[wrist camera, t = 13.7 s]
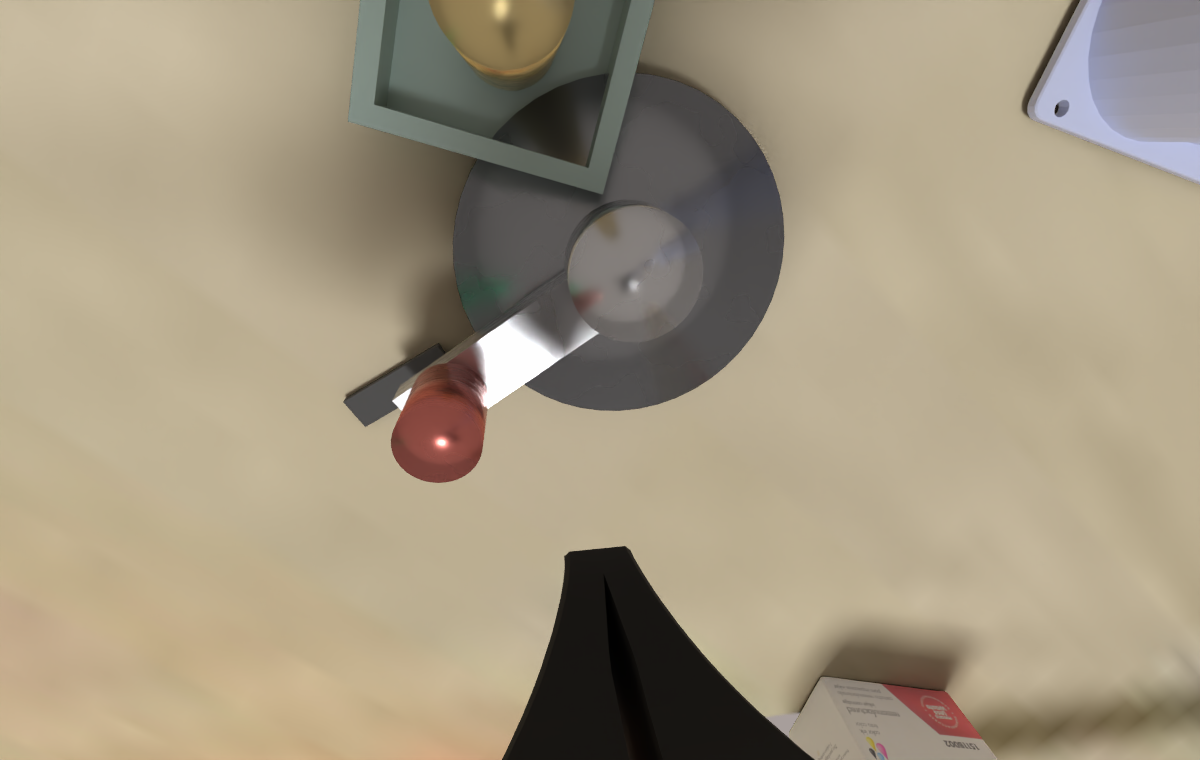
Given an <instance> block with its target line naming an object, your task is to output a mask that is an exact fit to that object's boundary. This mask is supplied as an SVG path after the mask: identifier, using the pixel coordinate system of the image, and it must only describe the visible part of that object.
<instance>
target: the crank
mask: <svg viewBox="0 0 1200 760" xmlns="http://www.w3.org/2000/svg"><path fill="white" fill-rule="evenodd" d="M702 282H703V260H702V255H701V252H700V249H699V246H698V244H697V242H696V240H695V238H694V236H693V235H692V233H691V232H690V230H689V229H688V228H687V227H686V226H685V225H684V224H683V223H682V222H681V221H679V220H678V219H677V218H675V217H674V216H672V215H670V214H669V213H667V212H665V211H663V210H661V209H659V208H657V207H655V206H653V205H651V204H649V203H646V202H642V201H638V200H617V201H612V202H609V203H606V204H604V205H601V206H599V207H597V208H596V209H594V210H592V211H591V212H590V213H589V214H587V215H586V216H585V217H584V218H583V219H582V220H581V221H580V222H579V223H578V225H577V226H576V228H575V229H574V231H573V232H572V234H571V236H570V238H569V241H568V244H567V247H566V251H565V258H564V271H562V272H561V273H559V274H558V275H557V276H555V277H554V278H552V279H551V280H549V281H548V282H547V283H545V284H544V285H542V286H541V287H539V288H538V289H537V290H535V291H534V292H532V293H531V294H530V295H528V296H527V297H525V298H524V299H522V300H521V301H520V302H518V303H517V304H515V305H514V306H512V307H511V308H510V309H508V310H507V311H505V312H504V313H502V314H501V315H500V316H498V317H497V318H495V319H494V320H492V321H491V322H490V323H488V324H487V325H485V326H484V327H482V328H481V329H480V330H478V331H477V332H475V333H474V334H472V335H471V336H470V337H468V338H467V339H465V340H464V341H463V342H461V343H460V344H458V345H457V346H455V347H454V348H453V349H451V350H450V351H448V352H447V353H445V354H444V355H443V356H441V357H440V358H438V359H437V360H435V361H434V362H433V363H431V364H430V365H428V366H427V367H425V368H424V369H423V370H421V371H420V372H418V373H417V374H415V375H414V376H413V377H411V378H410V379H408V380H407V381H405V382H404V383H403V384H401V385H400V386H399V388H398V390H397V392H396V394H395V396H394V398H393V400H392V401H393V402H394V403H395V404H396V405H397V407H398V408H399V409H400V410H401V411H402V412H401V414H400V416H399V419H398V421H397V423H396V426H395V428H394V430H393V433H392V438H391V448H392V452H393V455H394V457H395V459H396V461H397V462H398V464H399V465H400V466H401V467H402V468H403V469H404V470H405V471H406V472H407V473H409V474H410V475H412V476H414V477H416V478H418V479H420V480H424V481H427V482H435V483H442V482H450V481H453V480H457V479H459V478H461V477H463V476H465V475H466V474H468V473H469V472H470V471H471V470H472V469H473V468H474V467H475V466H476V464H477V463H478V461H479V459H480V457H481V453H482V448H483V440H484V432H485V424H486V417H487V409H488V408H489V407H490V406H492V405H493V404H495V403H496V402H498V401H499V400H501V399H502V398H504V397H505V396H507V395H508V394H510V393H511V392H513V391H514V390H515V389H517V388H518V387H520V386H521V385H523V384H524V383H526V382H527V381H529V380H530V379H532V378H533V377H535V376H536V375H538V374H539V373H541V372H542V371H544V370H545V369H546V368H548V367H549V366H551V365H552V364H554V363H555V362H557V361H558V360H560V359H561V358H563V357H564V356H566V355H567V354H569V353H570V352H572V351H573V350H575V349H576V348H577V347H579V346H580V345H582V344H583V343H585V342H586V341H588V340H589V339H591V338H592V337H594V336H595V335H597V334H598V333H600V334H601V335H603V336H605V337H608V338H610V339H613V340H617V341H622V342H643V341H648V340H652V339H655V338H657V337H660V336H662V335H664V334H666V333H668V332H669V331H671V330H672V329H674V328H675V327H676V326H678V325H679V324H680V323H681V322H682V321H683V320H684V319H685V318H686V316H687V315H688V314H689V313H690V311H691V310H692V308H693V307H694V305H695V303H696V301H697V299H698V296H699V293H700V291H701V287H702Z"/></svg>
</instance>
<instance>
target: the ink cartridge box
mask: <svg viewBox="0 0 1200 760" xmlns="http://www.w3.org/2000/svg"><path fill="white" fill-rule="evenodd" d="M789 738H790V739H791V740H792V741H793V742H794V743H795V744H796V745H798V746H799V747H800V748H801V749H802V750H803V751H805V752H806V753H807V754H808V755H810V756H811V757H812V758H814V759H815V760H998V759H997V758H996V756H995V755H994V754H993V752H992V751H991V750H990V748H989V747H988V746H987V745H986V743H985V742H984V741H983V739H982V738H981V737H980V735H979V734H978V732H977V731H976V730H975V729H974V727H973V726H972V725H971V723H970V722H969V721H968V719H967V718H966V717H965V715H964V714H963V713H962V711H961V710H960V709H959V708H958V706H957V705H956V704H955V702H954V701H953V700H952V698H951V697H950V696H949V695H948V693H947V692H945V691H933V690H926V689H918V688H910V687H902V686H894V685H887V684H879V683H872V682H863V681H855V680H849V679H840V678H833V677H821V678H820V680H819V681H818V683H817V685H816V687H815V688H814V690H813V692H812V693H811V695H810V697H809V699H808V701H807V702H806V704H805V706H804V708H803V709H802V711H801V713H800V715H799V716H798V718H797V720H796V721H795V723H794V725H793V727H792V729H791V730H790V732H789Z"/></svg>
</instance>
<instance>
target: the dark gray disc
mask: <svg viewBox="0 0 1200 760" xmlns="http://www.w3.org/2000/svg"><path fill="white" fill-rule="evenodd" d="M608 76H609V73H607V74H601V75H596V76H591V77H586V78H581V79H578V80H575V81H572V82H570V83H567V84H564V85H561V86H559V87H556V88H554V89H553V90H551V91H549V92H547V93H545V94H543V95H541V96H539V97H538V98H536V99H534V100H533V101H532V102H530V103H529V104H528V105H526V106H525V107H523V108H522V109H521V110H519V111H518V112H517V113H515V114H514V115H513V116H512V117H511V118H510V119H509V120H508V121H507V122H506V123H505V124H504V125H503V126H502V127H501V128H500V129H499V130H498V131H497V132H496V134H495V135H494V136H493V138H492V139H494V140H498V141H501V142H504V143H508V144H511V145H514V146H518V147H521V148H525V149H528V150H531V151H535V152H538V153H541V154H545V155H548V156H552V157H555V158H558V159H562V160H565V161H568V162H572V163H575V164H579V165H582V166H585V167H586V163H587V159H588V155H589V151H590V147H591V143H592V139H593V135H594V131H595V127H596V123H597V119H598V115H599V111H600V107H601V103H602V99H603V95H604V91H605V87H606V83H607V79H608ZM617 200H638V201H642V202H646V203H649V204H651V205H653V206H655V207H657V208H659V209H661V210H663V211H665V212H667V213H669V214H670V215H672V216H674V217H675V218H677V219H678V220H679V221H681V222H682V223H683V224H684V225H685V226H686V227H687V228H688V229H689V230H690V232H691V233H692V235H693V236H694V238H695V240H696V242H697V244H698V246H699V249H700V252H701V255H702V260H703V282H702V287H701V291H700V293H699V296H698V299H697V301H696V303H695V305H694V307H693V308H692V310H691V311H690V313H689V314H688V315H687V316H686V318H685V319H684V320H683V321H682V322H681V323H680V324H679V325H678V326H676V327H675V328H674V329H672V330H671V331H669V332H668V333H666V334H664V335H662V336H660V337H657V338H655V339H652V340H648V341H643V342H622V341H617V340H613V339H610V338H608V337H605V336H603V335H601V334H600V333H598V334H597V335H595V336H594V337H592V338H591V339H589V340H588V341H586V342H585V343H583V344H582V345H580V346H579V347H577V348H576V349H575V350H573V351H572V352H570V353H569V354H567V355H566V356H564V357H563V358H561V359H560V360H558V361H557V362H555V363H554V364H552V365H551V366H549V367H548V368H546V369H545V370H544V371H542V372H541V373H539V374H538V375H536V376H535V377H533V378H532V379H530V380H529V381H527V382H526V383H524V384H525V385H526V386H528V387H529V388H531V389H533V390H535V391H537V392H538V393H540V394H542V395H544V396H546V397H549V398H551V399H554V400H556V401H559V402H561V403H565V404H568V405H572V406H576V407H580V408H586V409H594V410H610V411H621V410H630V409H639V408H644V407H648V406H652V405H657V404H660V403H663V402H666V401H668V400H671V399H674V398H677V397H679V396H681V395H683V394H685V393H687V392H689V391H691V390H693V389H695V388H696V387H698V386H700V385H701V384H703V383H704V382H706V381H707V380H709V379H710V378H712V377H713V376H714V375H715V374H717V373H718V372H719V371H720V370H722V369H723V368H724V367H725V366H726V365H727V364H728V363H729V362H730V361H731V360H732V359H733V358H734V357H735V356H736V355H737V354H738V353H739V352H740V351H741V350H742V348H743V347H744V346H745V345H746V343H747V342H748V341H749V340H750V338H751V337H752V336H753V334H754V332H755V331H756V329H757V327H758V326H759V324H760V323H761V321H762V319H763V317H764V315H765V313H766V311H767V309H768V307H769V305H770V302H771V300H772V297H773V294H774V291H775V288H776V285H777V282H778V279H779V274H780V269H781V264H782V258H783V246H784V223H783V213H782V207H781V201H780V195H779V192H778V189H777V186H776V182H775V179H774V176H773V173H772V171H771V169H770V167H769V165H768V163H767V160H766V158H765V156H764V154H763V152H762V151H761V149H760V148H759V146H758V145H757V143H756V142H755V140H754V139H753V137H752V135H751V134H750V133H749V132H748V131H747V130H746V128H745V127H744V126H743V125H742V124H741V123H740V122H739V120H738V119H737V118H736V117H735V116H733V115H732V114H731V113H730V112H729V111H728V110H726V109H725V108H724V107H723V106H722V105H721V104H719V103H718V102H716V101H715V100H713V99H712V98H710V97H708V96H707V95H705V94H704V93H702V92H700V91H699V90H697V89H694V88H692V87H690V86H687V85H685V84H683V83H680V82H678V81H675V80H671V79H667V78H663V77H660V76H656V75H649V74H640V73H635V76H634V80H633V83H632V87H631V91H630V95H629V98H628V102H627V106H626V109H625V113H624V117H623V121H622V124H621V128H620V132H619V136H618V139H617V143H616V147H615V151H614V154H613V158H612V162H611V166H610V169H609V173H608V177H607V180H606V184H605V188H604V192H603V194H599V193H596V192H592V191H589V190H585V189H582V188H578V187H575V186H571V185H568V184H564V183H561V182H557V181H554V180H550V179H547V178H543V177H540V176H536V175H533V174H529V173H526V172H522V171H519V170H515V169H512V168H508V167H505V166H501V165H498V164H494V163H491V162H487V161H484V160H480V159H477V161H476V163H475V165H474V166H473V168H472V170H471V172H470V174H469V177H468V179H467V182H466V184H465V187H464V189H463V192H462V194H461V198H460V202H459V206H458V210H457V214H456V218H455V228H454V237H453V260H454V270H455V276H456V282H457V287H458V291H459V294H460V297H461V301H462V304H463V307H464V310H465V312H466V314H467V316H468V318H469V321H470V323H471V325H472V327H473V329H474V330H475V332H477V331H478V330H480V329H481V328H482V327H484V326H485V325H487V324H488V323H490V322H491V321H492V320H494V319H495V318H497V317H498V316H500V315H501V314H502V313H504V312H505V311H507V310H508V309H510V308H511V307H512V306H514V305H515V304H517V303H518V302H520V301H521V300H522V299H524V298H525V297H527V296H528V295H530V294H531V293H532V292H534V291H535V290H537V289H538V288H539V287H541V286H542V285H544V284H545V283H547V282H548V281H549V280H551V279H552V278H554V277H555V276H557V275H558V274H559V273H561V272H562V271H564V258H565V251H566V247H567V244H568V241H569V238H570V236H571V234H572V232H573V231H574V229H575V228H576V226H577V225H578V223H579V222H580V221H581V220H582V219H583V218H584V217H585V216H586V215H587V214H589V213H590V212H591V211H592V210H594V209H596V208H597V207H599V206H601V205H604V204H606V203H609V202H612V201H617Z"/></svg>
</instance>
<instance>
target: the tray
mask: <svg viewBox="0 0 1200 760" xmlns="http://www.w3.org/2000/svg"><path fill="white" fill-rule="evenodd" d="M654 1H655V0H575V3H574V8H573V13H572V16H571V20H570V23H569V25H568V28H567V30H566V32H565V35H564V37H563V39H562V42H561V44H560V46H559V49H558V51H557V53H556V56H555V58H554V60H553V62H552V65H551V67H550V68H549V70H548V72H547V73H546V74H545V75H544V77H543V78H542V79H541V80H539V81H538V82H537V83H535V84H534V85H532V86H530V87H528V88H525V89H522V90H517V91H508V90H502V89H498V88H495V87H493V86H491V85H489V84H487V83H486V82H484V81H483V80H482V79H481V78H479V77H478V76H477V75H476V74H475V73H474V71H473V70H472V69H471V67H470V66H469V65H468V64H467V62H466V61H465V60H464V59H463V57H462V56H461V55H460V53H459V52H458V51H457V50H456V48H455V47H454V46H453V45H452V43H451V42H450V41H449V39H448V38H447V37H446V36H445V34H444V33H443V31H442V30H441V28H440V27H439V25H438V23H437V21H436V19H435V17H434V15H433V12H432V10H431V7H430V4H429V1H428V0H360V8H359V18H358V27H357V37H356V47H355V57H354V67H353V76H352V86H351V96H350V106H349V116H348V122H351V123H355V124H358V125H362V126H365V127H369V128H372V129H376V130H379V131H383V132H386V133H390V134H393V135H397V136H400V137H404V138H407V139H411V140H414V141H418V142H421V143H425V144H428V145H432V146H435V147H439V148H442V149H446V150H449V151H453V152H456V153H460V154H463V155H467V156H470V157H474V158H477V159H480V160H484V161H487V162H491V163H494V164H498V165H501V166H505V167H508V168H512V169H515V170H519V171H522V172H526V173H529V174H533V175H536V176H540V177H543V178H547V179H550V180H554V181H557V182H561V183H564V184H568V185H571V186H575V187H578V188H582V189H585V190H589V191H592V192H596V193H599V194H603V192H604V188H605V184H606V180H607V177H608V173H609V169H610V166H611V162H612V158H613V154H614V151H615V147H616V143H617V139H618V136H619V132H620V128H621V124H622V121H623V117H624V113H625V109H626V106H627V102H628V98H629V95H630V91H631V87H632V83H633V80H634V76H635V72H636V68H637V65H638V61H639V57H640V53H641V50H642V46H643V42H644V38H645V35H646V31H647V27H648V23H649V20H650V16H651V12H652V9H653V5H654ZM607 73H609V76H608V79H607V83H606V87H605V91H604V95H603V99H602V103H601V107H600V111H599V115H598V119H597V123H596V127H595V131H594V135H593V139H592V143H591V147H590V151H589V155H588V159H587V163H586V167H585V166H582V165H579V164H575V163H572V162H568V161H565V160H562V159H558V158H555V157H552V156H548V155H545V154H541V153H538V152H535V151H531V150H528V149H525V148H521V147H518V146H514V145H511V144H508V143H504V142H501V141H498V140H494V139H492V138H493V136H494V135H495V134H496V132H497V131H498V130H499V129H500V128H501V127H502V126H503V125H504V124H505V123H506V122H507V121H508V120H509V119H510V118H511V117H512V116H513V115H514V114H515V113H517V112H518V111H519V110H521V109H522V108H523V107H525V106H526V105H528V104H529V103H530V102H532V101H533V100H534V99H536V98H538V97H539V96H541V95H543V94H545V93H547V92H549V91H551V90H553V89H554V88H556V87H559V86H561V85H564V84H567V83H570V82H572V81H575V80H578V79H581V78H586V77H591V76H596V75H601V74H607Z"/></svg>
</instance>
